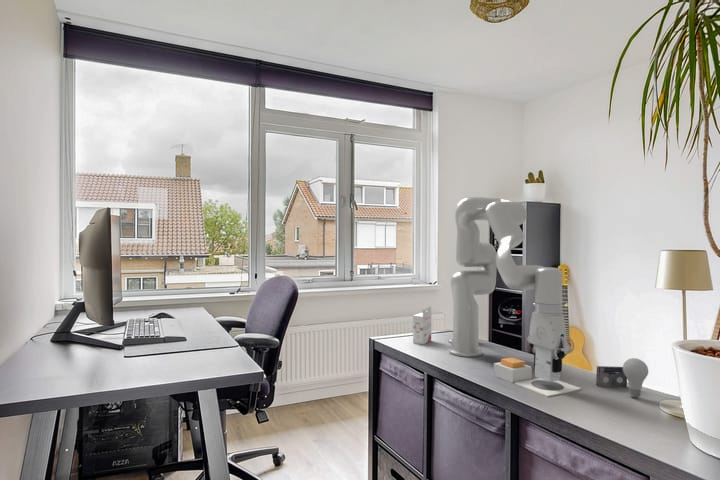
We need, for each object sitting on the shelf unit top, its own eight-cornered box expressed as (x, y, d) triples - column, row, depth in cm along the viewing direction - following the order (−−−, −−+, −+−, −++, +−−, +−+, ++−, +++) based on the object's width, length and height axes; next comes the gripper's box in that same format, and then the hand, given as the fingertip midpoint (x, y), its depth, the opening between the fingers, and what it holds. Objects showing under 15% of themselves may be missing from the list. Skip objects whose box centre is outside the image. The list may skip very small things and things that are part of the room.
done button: (500, 368, 144) (500, 359, 144) (512, 366, 146) (512, 357, 146) (512, 372, 139) (512, 363, 139) (524, 370, 141) (524, 361, 141)
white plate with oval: (515, 384, 136) (515, 382, 136) (547, 377, 143) (547, 376, 143) (547, 396, 126) (547, 395, 126) (580, 389, 132) (581, 387, 132)
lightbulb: (618, 393, 129) (618, 355, 129) (639, 394, 128) (640, 355, 128) (630, 401, 123) (630, 361, 122) (652, 401, 122) (653, 361, 122)
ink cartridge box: (421, 339, 194) (421, 305, 194) (431, 340, 192) (431, 306, 192) (412, 343, 187) (412, 308, 187) (423, 344, 185) (423, 309, 184)
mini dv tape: (624, 386, 135) (624, 366, 135) (626, 387, 134) (627, 367, 134) (596, 385, 136) (596, 365, 136) (598, 387, 134) (598, 367, 134)
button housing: (493, 375, 144) (494, 363, 144) (512, 372, 148) (512, 360, 148) (512, 383, 137) (512, 370, 137) (531, 379, 141) (531, 366, 141)
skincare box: (534, 376, 136) (534, 336, 136) (544, 374, 138) (545, 335, 138) (550, 382, 130) (550, 340, 130) (561, 380, 132) (561, 339, 132)
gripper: (517, 305, 140) (516, 363, 140) (564, 314, 124) (563, 379, 125) (534, 304, 143) (533, 360, 143) (582, 312, 128) (581, 375, 128)
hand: (547, 368), depth 134 cm, fingers closed on skincare box, 6 cm apart
